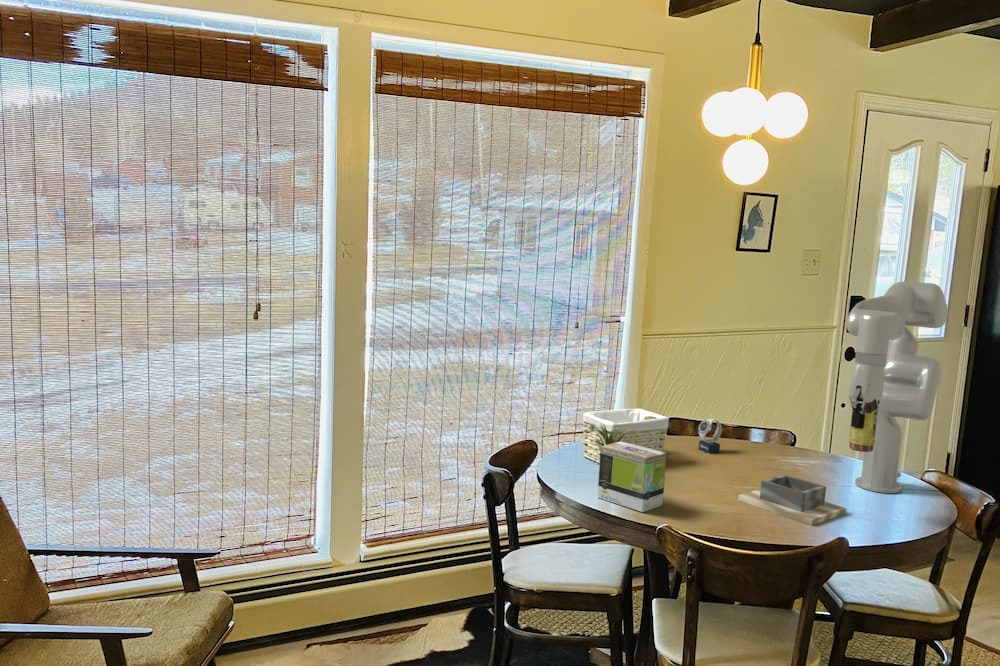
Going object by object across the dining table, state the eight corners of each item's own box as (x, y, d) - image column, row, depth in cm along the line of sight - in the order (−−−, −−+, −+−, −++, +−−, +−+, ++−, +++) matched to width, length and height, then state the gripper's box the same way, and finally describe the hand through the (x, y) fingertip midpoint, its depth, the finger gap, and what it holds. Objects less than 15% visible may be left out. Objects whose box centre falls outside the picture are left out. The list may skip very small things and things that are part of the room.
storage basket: (634, 449, 270) (637, 406, 268) (668, 462, 256) (672, 417, 254) (577, 456, 257) (580, 411, 255) (609, 471, 244) (613, 423, 242)
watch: (693, 449, 272) (696, 418, 271) (713, 448, 275) (716, 417, 274) (703, 454, 267) (706, 422, 266) (723, 452, 270) (726, 421, 269)
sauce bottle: (876, 453, 212) (885, 379, 209) (851, 451, 213) (859, 377, 210) (869, 447, 218) (877, 375, 216) (845, 445, 219) (853, 373, 217)
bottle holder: (773, 490, 233) (775, 468, 232) (845, 513, 216) (848, 490, 215) (738, 500, 222) (740, 477, 221) (811, 525, 205) (814, 501, 204)
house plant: (575, 477, 235) (578, 423, 233) (587, 465, 248) (590, 413, 246) (623, 485, 230) (627, 429, 228) (633, 472, 243) (637, 419, 241)
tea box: (663, 505, 215) (668, 451, 213) (642, 513, 208) (646, 458, 206) (618, 490, 225) (621, 439, 223) (595, 498, 218) (599, 445, 216)
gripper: (871, 355, 221) (864, 419, 223) (841, 359, 210) (833, 426, 212) (899, 359, 215) (891, 425, 218) (869, 364, 204) (861, 433, 206)
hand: (863, 425), depth 215 cm, fingers closed on sauce bottle, 6 cm apart
